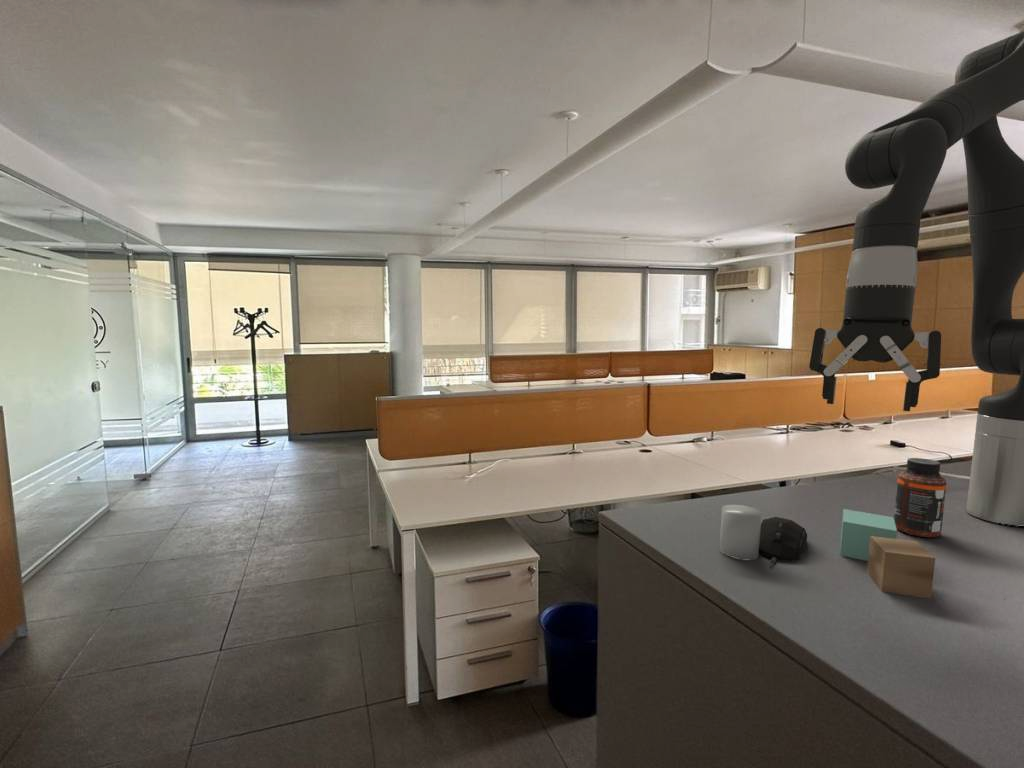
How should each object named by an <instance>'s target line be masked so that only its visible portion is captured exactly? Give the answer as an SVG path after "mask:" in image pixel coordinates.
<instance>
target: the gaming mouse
mask: <svg viewBox="0 0 1024 768" xmlns="http://www.w3.org/2000/svg"><path fill="white" fill-rule="evenodd" d="M807 543H808V534H807V530H806V529H805V527H803V526H801V525H800V524H798V523H797V522H795V521H794V520H792V519H787V518H784V517H783V518H782V517H777V516H773V517H770V518H765V519H763V520H761V529H760V543H759V555H761V556H763V557H766V558H769V559H770V565H769V569H773V568H774V566H775V564H776V563H777V561H782V562H795V561H798V560H800V558H801V557H802V556H803V552H804V550H805V548H806V546H807Z"/></svg>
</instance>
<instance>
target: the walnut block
mask: <svg viewBox="0 0 1024 768" xmlns="http://www.w3.org/2000/svg"><path fill="white" fill-rule="evenodd" d="M935 565H936V557H935V556H934V555H933V554H932V553H931V552H929V551H928V550H927V549H926V548H925V546H924V547H923V545H921V544H920V542H918V541H917V540H906V539H900V538H899V539H898V538H896V539H892V538H883V537H874V536H870V546H869V556H868V561H867V570H866V573H867V575H868V577H870V578H871V579H872V582H873V583H875V585H876V586H877V588H878V589H879V591H880V592H884V593H890V594H891V593H892V594H899V595H906V596H913V597H918V598H919V597H920V598H926V599H932V591H933V584H934V583H933V581H934V573H935Z"/></svg>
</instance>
